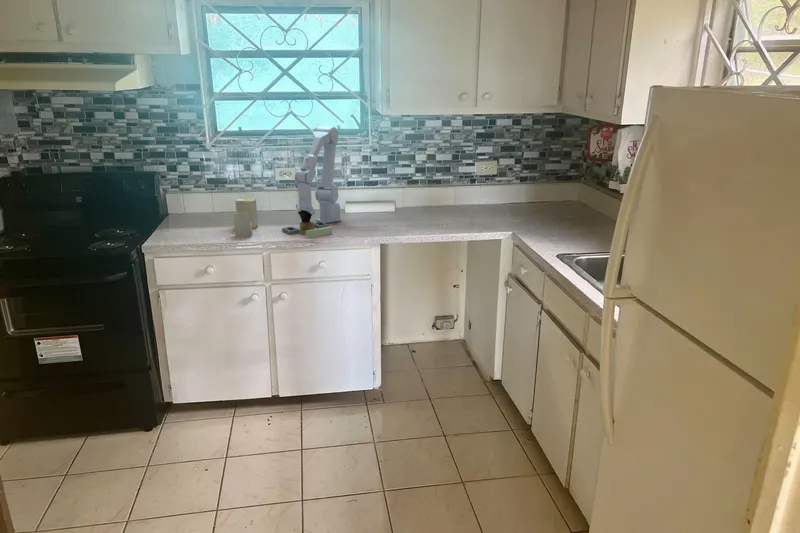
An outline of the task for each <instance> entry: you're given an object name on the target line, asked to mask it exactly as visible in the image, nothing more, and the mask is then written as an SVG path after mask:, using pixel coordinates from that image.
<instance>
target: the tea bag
mask: <svg viewBox="0 0 800 533" xmlns="http://www.w3.org/2000/svg"><path fill="white" fill-rule="evenodd" d="M233 216H234V220H233V226H234V236H235V238H252V237H253V229H252V221H251V215H250V214H236V213H234V214H233Z"/></svg>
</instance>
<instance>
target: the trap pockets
mask: <svg viewBox="0 0 800 533" xmlns="http://www.w3.org/2000/svg"><path fill="white" fill-rule="evenodd" d="M313 223H314V225H315V229H312V230H306V234H305V238H306V237H307V239H311V238H317V237H322V236H328V234H329V235H333V227H332V226H330V225H329V223H324V222H320V221H315V222H313ZM281 230H282V232H283V233H285V234H287V235H296V234H301V232H300V228H297V227H294V226H292V225H291V226H285V227H282V228H281Z"/></svg>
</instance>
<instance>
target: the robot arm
mask: <svg viewBox="0 0 800 533" xmlns="http://www.w3.org/2000/svg"><path fill="white" fill-rule="evenodd" d="M312 137H313V138H312V139H313V140H312V144H311V148H310V150H309V153H308V154H307V155H305V156H304V159H303V161H302V164H301V167H300V168H299V169H298V170H297V171H296V172H295V175H294V181H295V183H296V187H297V195H298V196H297V197H298V203H295V209H296V210H298V212H297V214H298V215H299V218H300V219H301V220H300V221H301V222H311V219H312V216H313V215H315V214H316V209H314V207H313V205H312V204H313V201H312V183H313V182H314V174H315V172H314V171H315V168H316V166H317V165H318V159H317V157H318V156H319V153H320V152H321V150H322V147H323V148H324V149H323V150H324V151H323V158H322V159H323V160H322V162H323V163H322V174H321V181H320V182H319V183H318V184H317V185H316V189H315V192H314V197H315V199H316V200H317V203H318V206H319V218H315V219H316V221H317V222H324V223H326V224H329V223H334V222H339V221H340V222H341V221H342V219H341V205H340V203H339V201H338V199H339V192H338V191H339V190H338V185H336V184H335V183H334V172H335V161H336V150H337V148H336V147H337V146H338V141H339V131H338V130H337V127H335V126H323V125H321V126H320V125H317V126H315V127H314V129H313V133H312ZM299 210H300V211H299Z"/></svg>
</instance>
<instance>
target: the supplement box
mask: <svg viewBox="0 0 800 533" xmlns="http://www.w3.org/2000/svg"><path fill="white" fill-rule="evenodd" d="M234 203H235V210H236V211H235V212H236V213H235V214H250V215H251V221H252V230H255V229H257V228H258V227H259V222H258V221H259V220H258V208H257V207H258V206H257V198H255V199H254V198H242V197H240V198H237V199H236V200H235V202H234Z"/></svg>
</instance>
